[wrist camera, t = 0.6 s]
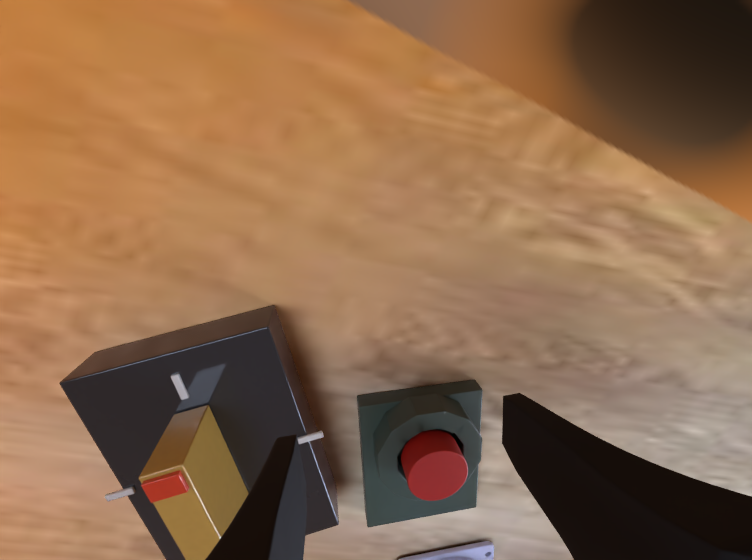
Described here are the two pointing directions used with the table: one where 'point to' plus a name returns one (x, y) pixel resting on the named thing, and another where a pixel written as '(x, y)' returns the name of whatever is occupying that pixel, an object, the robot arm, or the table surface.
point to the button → (433, 465)
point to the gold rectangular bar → (194, 482)
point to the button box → (397, 426)
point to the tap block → (196, 389)
